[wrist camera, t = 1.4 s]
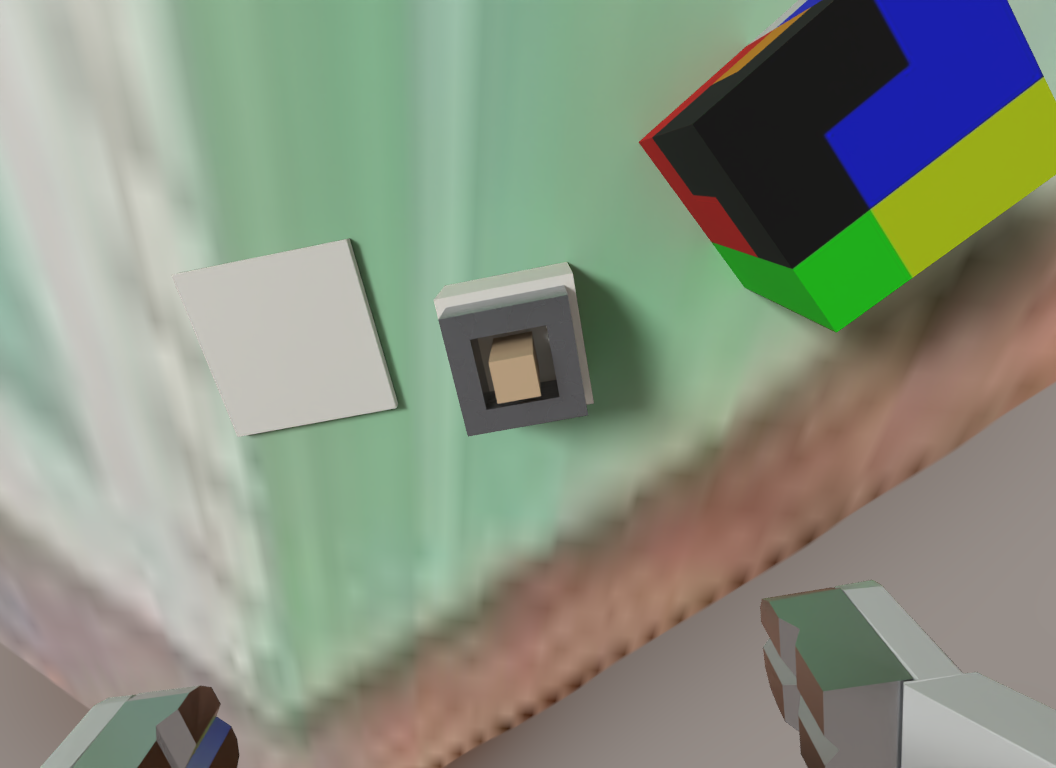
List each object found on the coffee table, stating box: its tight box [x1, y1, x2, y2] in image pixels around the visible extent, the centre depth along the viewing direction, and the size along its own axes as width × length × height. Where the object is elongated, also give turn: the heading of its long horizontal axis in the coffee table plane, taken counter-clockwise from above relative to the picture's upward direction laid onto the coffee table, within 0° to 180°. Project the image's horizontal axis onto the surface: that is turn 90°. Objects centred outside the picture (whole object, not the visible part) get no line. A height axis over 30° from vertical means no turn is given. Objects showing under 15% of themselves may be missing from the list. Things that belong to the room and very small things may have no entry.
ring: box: [438, 285, 588, 436], centre depth 27 cm, size 6×6×2 cm
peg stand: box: [434, 262, 594, 405], centre depth 29 cm, size 7×7×8 cm
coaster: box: [171, 238, 398, 437], centre depth 32 cm, size 10×10×1 cm
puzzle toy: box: [639, 0, 1056, 333], centre depth 24 cm, size 10×10×10 cm
